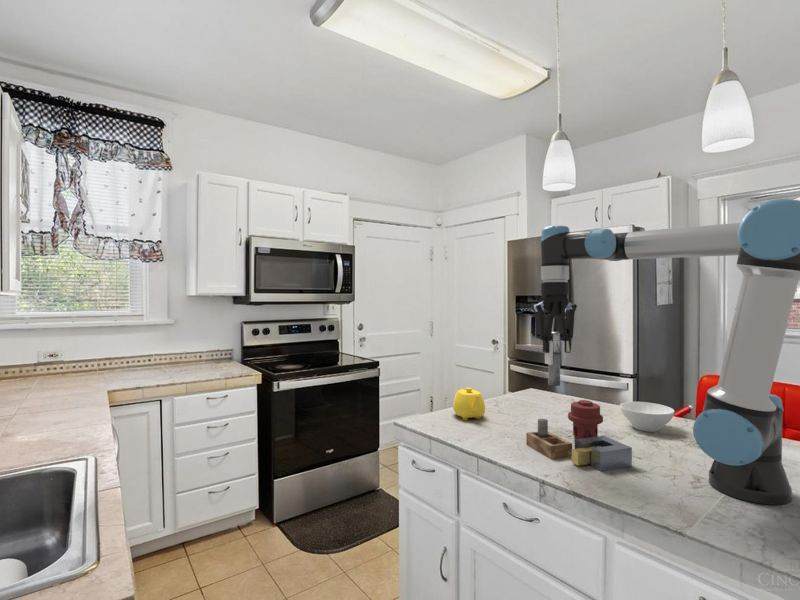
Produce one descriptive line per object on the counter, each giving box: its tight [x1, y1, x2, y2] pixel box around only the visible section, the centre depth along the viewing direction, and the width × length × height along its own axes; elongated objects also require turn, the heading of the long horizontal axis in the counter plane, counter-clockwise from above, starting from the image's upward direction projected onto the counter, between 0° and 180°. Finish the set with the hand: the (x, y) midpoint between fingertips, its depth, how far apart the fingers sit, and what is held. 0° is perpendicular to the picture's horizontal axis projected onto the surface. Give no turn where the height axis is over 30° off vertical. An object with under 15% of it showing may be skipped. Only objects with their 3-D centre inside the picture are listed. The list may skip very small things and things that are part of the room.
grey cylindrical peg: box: [547, 331, 561, 387], centre depth 125 cm, size 3×3×15 cm
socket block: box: [574, 435, 633, 472], centre depth 120 cm, size 10×10×5 cm
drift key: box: [571, 447, 591, 466], centre depth 118 cm, size 2×7×4 cm, turn 107°
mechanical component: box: [567, 399, 604, 440], centre depth 136 cm, size 12×10×10 cm
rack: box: [525, 418, 573, 460], centre depth 128 cm, size 12×7×8 cm, turn 17°
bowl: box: [619, 401, 675, 433], centre depth 148 cm, size 16×16×7 cm
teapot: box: [452, 387, 486, 421], centre depth 162 cm, size 18×11×11 cm, turn 13°
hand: (554, 363), depth 125 cm, fingers closed on grey cylindrical peg, 3 cm apart
